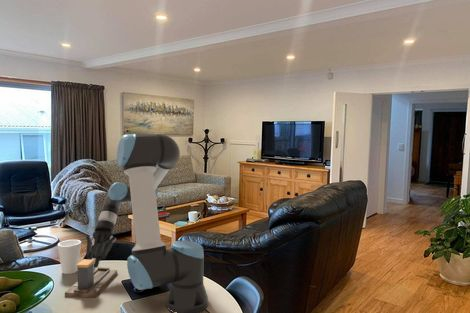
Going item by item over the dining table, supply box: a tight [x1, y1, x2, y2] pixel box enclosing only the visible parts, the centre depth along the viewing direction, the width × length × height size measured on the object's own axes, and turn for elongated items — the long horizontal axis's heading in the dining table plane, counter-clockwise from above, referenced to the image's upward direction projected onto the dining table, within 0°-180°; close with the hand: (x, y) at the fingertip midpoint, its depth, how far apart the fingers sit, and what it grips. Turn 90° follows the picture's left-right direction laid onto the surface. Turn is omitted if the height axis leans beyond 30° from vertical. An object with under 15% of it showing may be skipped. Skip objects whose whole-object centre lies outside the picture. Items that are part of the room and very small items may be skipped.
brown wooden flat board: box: [64, 266, 118, 298], centre depth 142 cm, size 12×22×2 cm, turn 178°
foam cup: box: [57, 239, 82, 275], centre depth 155 cm, size 10×9×13 cm
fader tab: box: [76, 258, 94, 290], centre depth 136 cm, size 5×6×10 cm
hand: (90, 274), depth 140 cm, fingers closed
